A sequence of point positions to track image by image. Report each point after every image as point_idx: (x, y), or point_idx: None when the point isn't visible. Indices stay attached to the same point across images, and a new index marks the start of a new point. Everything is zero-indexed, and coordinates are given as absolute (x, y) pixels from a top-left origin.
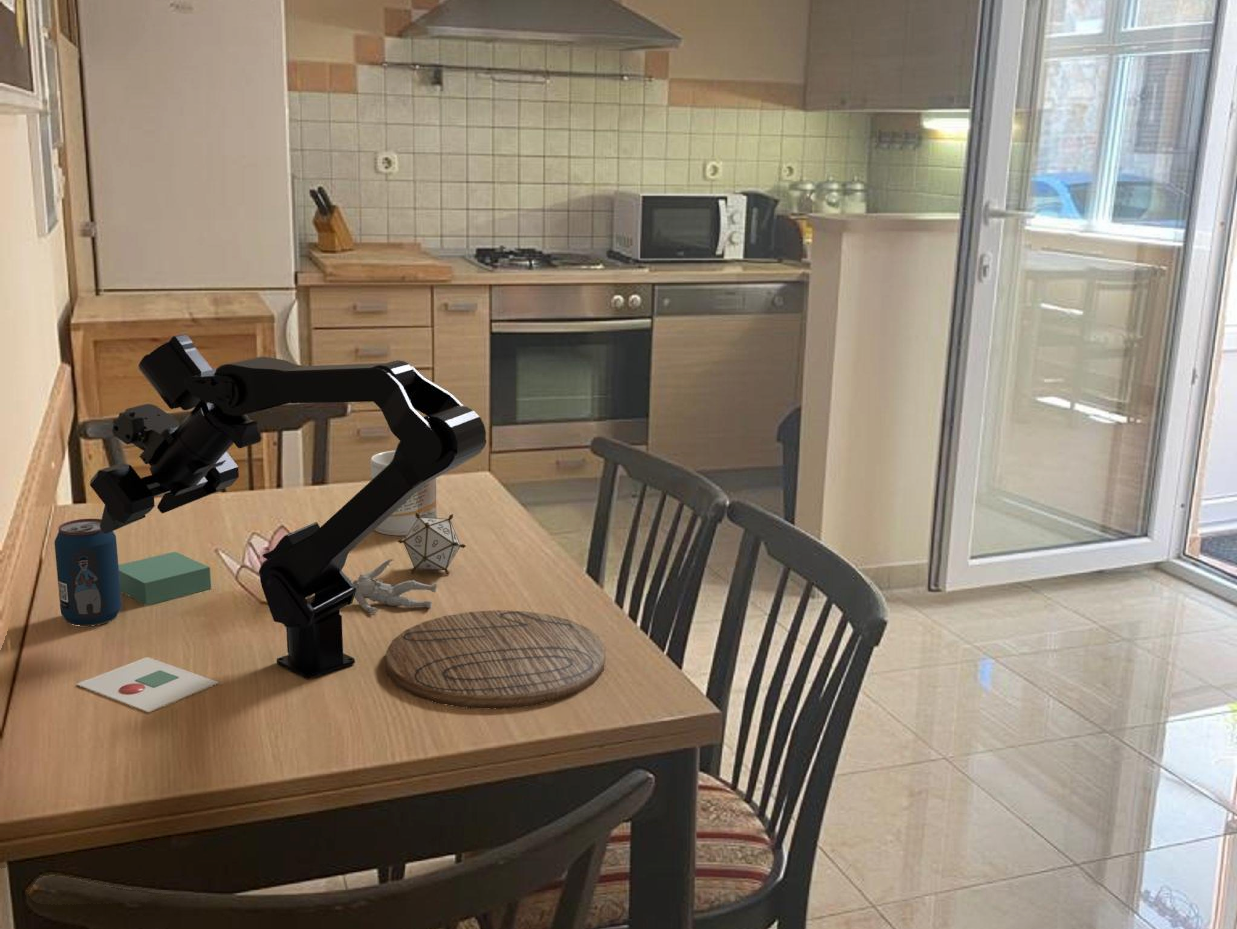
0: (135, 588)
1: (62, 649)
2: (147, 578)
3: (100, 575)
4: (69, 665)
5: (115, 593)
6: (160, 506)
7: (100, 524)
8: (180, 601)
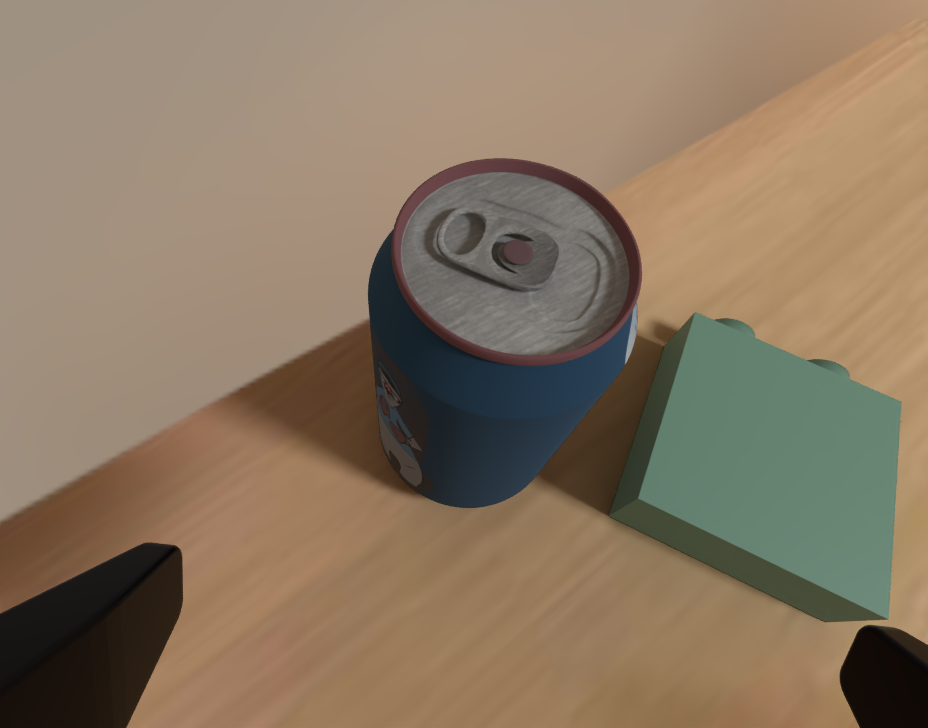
0: (642, 447)
1: (221, 508)
2: (677, 476)
3: (431, 454)
4: None
5: (484, 493)
6: (885, 674)
7: (113, 561)
8: (689, 596)
